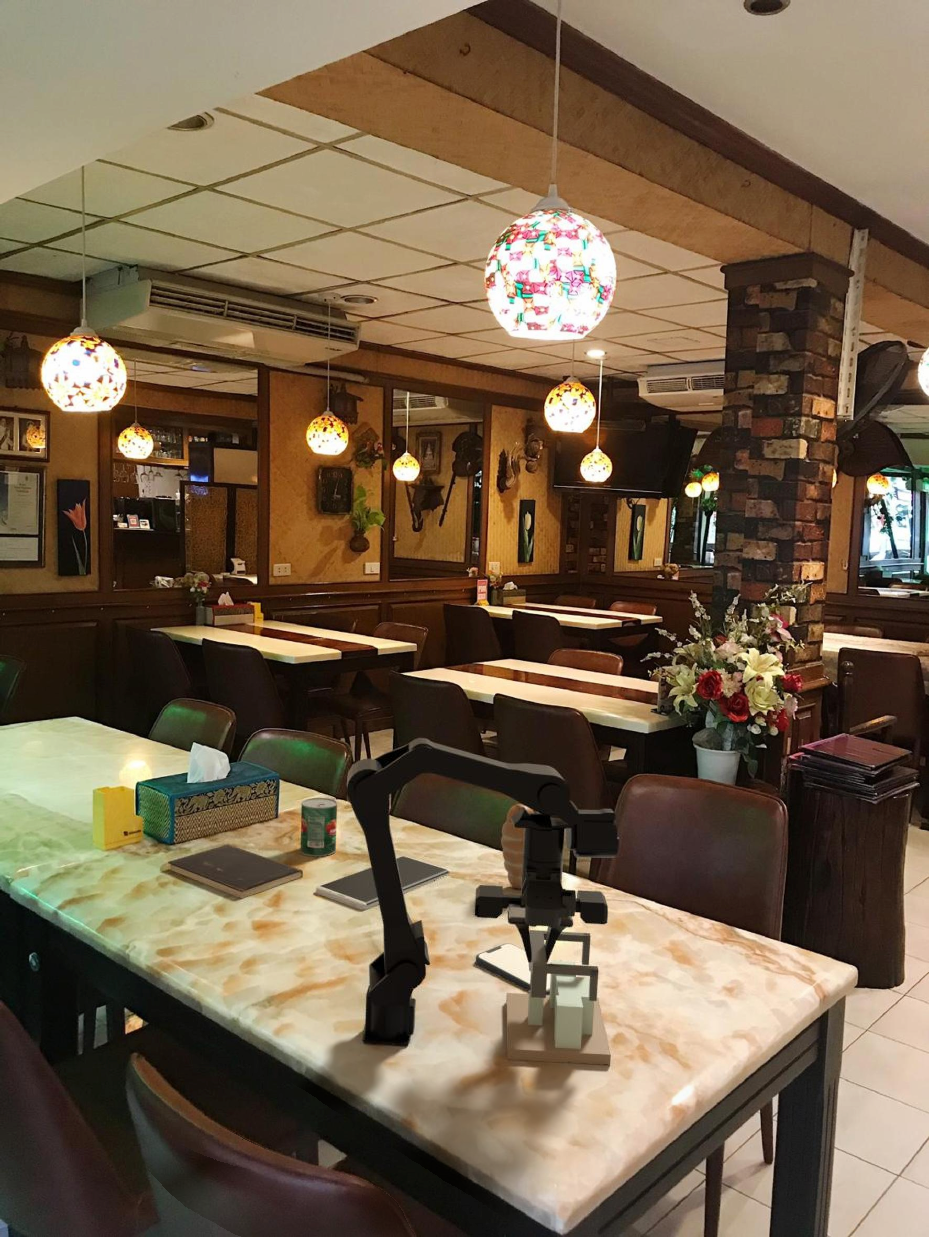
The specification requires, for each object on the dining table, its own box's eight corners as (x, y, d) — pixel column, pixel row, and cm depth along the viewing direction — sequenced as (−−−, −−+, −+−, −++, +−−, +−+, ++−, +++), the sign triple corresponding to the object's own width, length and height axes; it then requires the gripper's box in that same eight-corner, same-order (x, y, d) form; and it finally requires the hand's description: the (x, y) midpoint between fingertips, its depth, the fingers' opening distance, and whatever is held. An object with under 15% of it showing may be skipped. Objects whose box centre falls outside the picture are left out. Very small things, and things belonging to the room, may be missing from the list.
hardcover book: (241, 901, 183) (241, 890, 182) (167, 872, 196) (167, 861, 196) (302, 879, 195) (303, 868, 195) (230, 853, 209) (230, 843, 209)
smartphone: (451, 877, 201) (452, 869, 201) (363, 913, 179) (363, 904, 179) (403, 862, 209) (404, 854, 209) (313, 895, 187) (314, 886, 187)
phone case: (579, 985, 154) (508, 950, 166) (580, 976, 154) (508, 941, 166) (543, 1003, 148) (471, 964, 160) (543, 993, 148) (472, 955, 160)
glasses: (531, 997, 132) (532, 965, 131) (528, 958, 144) (529, 929, 143) (596, 1001, 131) (598, 969, 131) (588, 962, 143) (589, 933, 143)
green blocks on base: (507, 1059, 131) (510, 1006, 130) (506, 1002, 146) (508, 955, 146) (610, 1065, 130) (613, 1012, 129) (597, 1007, 146) (600, 960, 145)
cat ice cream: (522, 899, 188) (526, 809, 187) (490, 888, 193) (494, 801, 191) (546, 886, 195) (550, 800, 194) (514, 877, 200) (518, 793, 198)
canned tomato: (295, 847, 213) (297, 799, 212) (329, 843, 217) (331, 796, 216) (305, 858, 206) (306, 809, 205) (340, 854, 209) (342, 805, 208)
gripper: (476, 872, 128) (471, 984, 130) (615, 880, 128) (609, 992, 129) (477, 845, 139) (473, 948, 141) (606, 852, 139) (600, 955, 140)
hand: (537, 961), depth 137 cm, fingers closed on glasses, 2 cm apart
